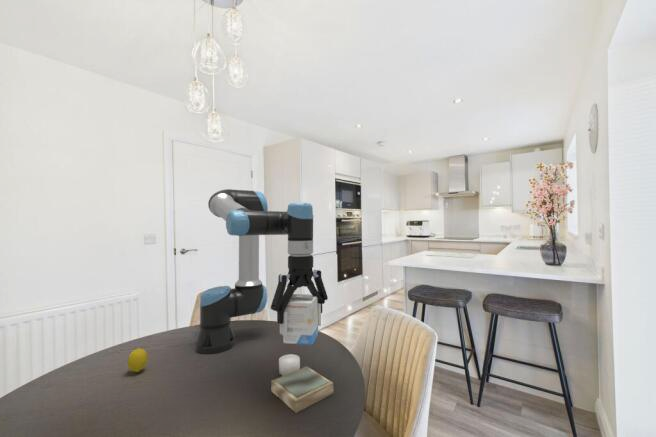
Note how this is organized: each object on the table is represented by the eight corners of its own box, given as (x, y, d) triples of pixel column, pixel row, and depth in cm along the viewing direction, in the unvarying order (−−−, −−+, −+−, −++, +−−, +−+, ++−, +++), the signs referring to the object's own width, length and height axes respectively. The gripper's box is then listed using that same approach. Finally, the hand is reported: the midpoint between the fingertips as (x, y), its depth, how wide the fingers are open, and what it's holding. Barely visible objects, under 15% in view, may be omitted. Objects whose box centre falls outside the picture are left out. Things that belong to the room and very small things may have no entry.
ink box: (318, 334, 85) (318, 290, 86) (311, 345, 77) (311, 296, 78) (292, 332, 87) (292, 289, 88) (282, 343, 79) (282, 295, 79)
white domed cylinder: (275, 370, 94) (274, 358, 95) (292, 363, 99) (292, 352, 99) (286, 378, 89) (286, 366, 89) (304, 371, 94) (303, 359, 94)
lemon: (150, 370, 95) (151, 346, 96) (133, 378, 90) (134, 353, 91) (140, 367, 98) (141, 343, 98) (123, 374, 93) (124, 350, 93)
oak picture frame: (271, 391, 82) (271, 379, 82) (306, 375, 91) (306, 365, 91) (295, 413, 72) (295, 400, 73) (333, 393, 81) (333, 382, 81)
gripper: (271, 259, 72) (271, 344, 72) (338, 253, 88) (339, 323, 87) (257, 257, 78) (258, 336, 77) (323, 251, 94) (324, 317, 93)
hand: (301, 329), depth 82 cm, fingers closed on ink box, 11 cm apart
